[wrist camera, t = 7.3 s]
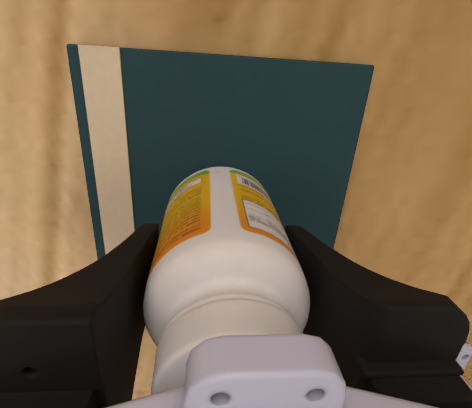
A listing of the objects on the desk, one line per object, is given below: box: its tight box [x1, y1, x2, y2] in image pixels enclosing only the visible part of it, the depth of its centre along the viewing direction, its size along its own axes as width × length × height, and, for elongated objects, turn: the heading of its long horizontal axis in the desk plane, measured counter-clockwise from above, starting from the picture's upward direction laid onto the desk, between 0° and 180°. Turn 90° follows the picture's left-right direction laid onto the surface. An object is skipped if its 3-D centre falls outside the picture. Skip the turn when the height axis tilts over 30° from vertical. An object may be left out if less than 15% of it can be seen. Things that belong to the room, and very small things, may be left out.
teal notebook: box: [67, 44, 374, 260], centre depth 17 cm, size 15×13×1 cm
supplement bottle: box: [143, 167, 310, 395], centre depth 12 cm, size 5×5×10 cm
